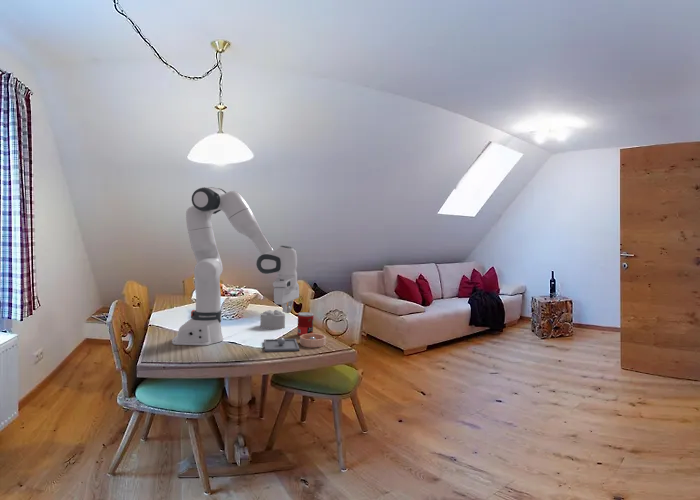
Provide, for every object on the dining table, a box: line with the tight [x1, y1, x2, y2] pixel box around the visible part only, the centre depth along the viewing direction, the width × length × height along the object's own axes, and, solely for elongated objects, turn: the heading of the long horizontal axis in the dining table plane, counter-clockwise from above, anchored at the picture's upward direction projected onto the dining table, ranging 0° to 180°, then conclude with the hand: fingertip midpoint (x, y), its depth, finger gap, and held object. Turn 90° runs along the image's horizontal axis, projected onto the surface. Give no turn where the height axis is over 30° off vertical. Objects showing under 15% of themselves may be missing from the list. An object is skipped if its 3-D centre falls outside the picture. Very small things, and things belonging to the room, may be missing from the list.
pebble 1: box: [277, 337, 286, 345], centre depth 190 cm, size 3×3×3 cm
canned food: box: [297, 311, 315, 337], centre depth 212 cm, size 8×8×11 cm
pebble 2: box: [284, 305, 292, 314], centre depth 191 cm, size 3×3×3 cm
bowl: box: [299, 332, 327, 349], centre depth 196 cm, size 12×12×4 cm
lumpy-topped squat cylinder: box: [259, 309, 286, 330], centre depth 227 cm, size 10×13×9 cm
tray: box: [263, 338, 300, 353], centre depth 190 cm, size 15×16×1 cm
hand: (287, 310), depth 191 cm, fingers closed on pebble 2, 3 cm apart
